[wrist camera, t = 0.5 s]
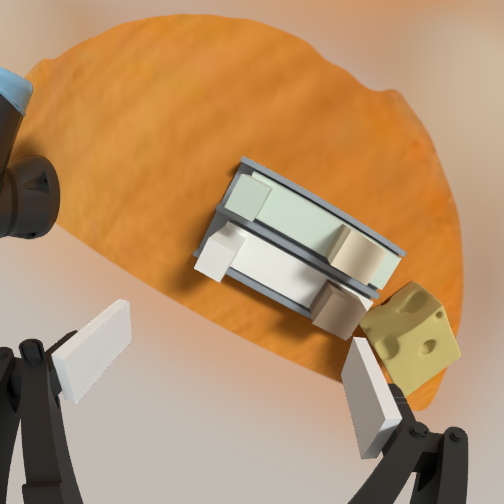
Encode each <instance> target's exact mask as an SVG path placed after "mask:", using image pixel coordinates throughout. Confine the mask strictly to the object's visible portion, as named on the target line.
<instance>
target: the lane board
mask: <svg viewBox="0 0 504 504" xmlns="http://www.w3.org/2000/svg"><path fill="white" fill-rule="evenodd" d="M240 161H241V162H242V164H241V165H240V167H239V169H238V171H237V173H236V175H235V177H234V179H233V181H232V182H231V184H230V186H229V188H228V190H227V192H226V194H225V196H224V198H223V200H222V202H221V203H220V204H217V206H216V208H215V210H217V212H216V214H215V216H214V218H213V220H212V222H211V224H210V226H209V228H208V230H207V232H206V234H205V236H204V238H203V240H202V242H201V244H200V246H199V248H197V249H196V250H195V251H194V253H193V256H195V257H196V258H198V259H199V257H200V255H201V253H202V251H203V248H204V246H205V244H206V242H207V240H208V238H209V237H211V236H212V235H213V234H215V233H216V232H217V231H219V230H220V229H222V228H223V227H224V226H225V225H226V223H227V221H229V220H230V221H232V222H234V223H235V224H237V225H239V226H241V227H243V228H245V229H246V230H248V231H250V232H252V233H254V234H256V235H257V236H259V237H261V238H263V239H265V240H267V241H268V242H270V243H272V244H274V245H276V246H277V247H279V248H281V249H283V250H285V251H286V252H288V253H290V254H292V255H294V256H295V257H297V258H299V259H301V260H303V261H304V262H306V263H308V264H310V265H312V266H313V267H315V268H317V269H319V270H320V271H322V272H324V273H326V274H328V275H329V276H331V277H333V278H335V279H336V280H338V281H340V282H342V283H343V284H345V285H347V286H349V287H350V288H352V289H354V290H356V291H357V292H359V293H361V294H363V295H364V296H366V297H368V298H370V299H371V298H372V297H373V298H375V299H378V298H379V296H380V295H379V293H378V292H377V289H378V288H377V287H376V286H374V285H372V284H371V283H368V285H367V286H366V285H364V284H363V283H361V282H359V281H358V280H356V279H354V278H352V277H351V276H349V275H347V274H346V273H344V272H342V271H340V270H339V269H337V268H335V267H333V266H332V265H330V263H329V261H328V259H327V258H326V257H324V256H323V255H321V254H319V253H317V252H316V251H314V250H312V249H310V248H309V247H307V246H305V245H303V244H302V243H300V242H298V241H296V240H294V239H293V238H291V237H289V236H287V235H285V234H284V233H282V232H280V231H278V230H276V229H275V228H273V227H271V226H269V225H267V224H266V223H264V222H262V221H260V220H258V219H256V218H255V219H254V220H253V221H252V222H251V221H249V220H247V219H245V218H244V217H242V216H240V215H238V214H236V213H234V212H232V211H231V210H229V209H227V208H225V205H226V203H227V201H228V199H229V197H230V195H231V193H232V191H233V189H234V187H235V186H236V184H237V182H238V180H239V178H240V176H241V174H246V175H250V176H252V174H253V172H254V171H256V172H258V173H259V174H261V175H263V176H265V177H267V178H269V179H271V180H273V181H274V182H276V183H278V184H280V185H282V186H284V187H285V188H287V189H289V190H291V191H293V192H294V193H296V194H298V195H300V196H302V197H303V198H305V199H307V200H309V201H310V202H312V203H314V204H316V205H317V206H319V207H321V208H322V209H324V210H326V211H327V212H329V213H331V214H333V215H334V216H336V217H338V218H339V219H341V220H342V221H344V222H346V223H347V224H349V225H351V226H352V227H354V228H356V229H357V230H359V231H360V232H362V233H364V234H365V235H367V236H368V237H370V238H371V239H373V240H375V241H376V242H378V243H379V244H381V245H382V246H384V247H385V248H387V249H388V250H390V251H391V252H393V253H394V254H396V255H397V256H398V255H399V254H400V255H401V256H403V257H405V255H406V252H405V251H404V250H402V249H401V248H399V247H398V246H396V245H395V244H393V243H392V242H390V241H389V240H387V239H386V238H384V237H383V236H381V235H380V234H378V233H377V232H375V231H374V230H372V229H370V228H369V227H367V226H366V225H364V224H363V223H361V222H359V221H358V220H356V219H355V218H353V217H351V216H350V215H348V214H346V213H345V212H343V211H342V210H340V209H338V208H337V207H335V206H333V205H332V204H330V203H328V202H327V201H325V200H323V199H321V198H320V197H318V196H316V195H315V194H313V193H311V192H309V191H308V190H306V189H304V188H302V187H301V186H299V185H297V184H295V183H293V182H292V181H290V180H288V179H286V178H284V177H282V176H281V175H279V174H277V173H275V172H273V171H271V170H269V169H268V168H266V167H264V166H262V165H260V164H258V163H256V162H254V161H252V160H250V159H248V158H246V157H244V156H243V157H242V158H241V160H240ZM226 274H227V275H229V276H231V277H232V278H234V279H236V280H238V281H240V282H242V283H243V284H245V285H247V286H249V287H251V288H253V289H255V290H256V291H258V292H260V293H262V294H264V295H266V296H268V297H270V298H271V299H273V300H275V301H277V302H279V303H281V304H283V305H285V306H287V307H288V308H290V309H292V310H294V311H296V312H298V313H300V314H302V315H304V316H306V317H308V318H310V319H311V313H310V309H309V308H307V307H305V306H303V305H301V304H299V303H297V302H295V301H293V300H292V299H290V298H288V297H286V296H284V295H282V294H280V293H278V292H277V291H275V290H273V289H271V288H269V287H267V286H265V285H264V284H262V283H260V282H258V281H256V280H254V279H253V278H251V277H249V276H247V275H245V274H243V273H242V272H240V271H238V270H236V269H234V268H232V267H231V266H230V268H229V269H228V271H227V272H226ZM311 320H312V319H311ZM351 336H352V334H351V335H350V337H351ZM350 337H349V339H350Z"/></svg>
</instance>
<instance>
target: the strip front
mask: <svg viewBox="0 0 504 504" xmlns="http://www.w3.org/2000/svg"><path fill="white" fill-rule="evenodd" d="M225 208H227V209H229V210H231V211H232V212H234V213H236V214H238V215H240V216H242V217H244V218H245V219H247V220H249V221H251V222H252V221H253V220H254V219H255V218H256V219H258V220H260V221H262V222H264V223H266V224H267V225H269V226H271V227H273V228H275V229H276V230H278V231H280V232H282V233H284V234H285V235H287V236H289V237H291V238H293V239H294V240H296V241H298V242H300V243H302V244H303V245H305V246H307V247H309V248H310V249H312V250H314V251H316V252H317V253H319V254H321V255H323V256H324V257H326V255H325V253H326V251H327V249H328V248H329V246H330V244H331V243H332V241H333V239H334V238H335V236H336V234H337V232H338V231H339V229H340V227H341V226H342V224H344V225H346V226H348V227H349V228H351V229H352V230H354V231H356V232H357V233H359V234H361V235H362V236H364V237H365V238H367V239H368V240H370V241H372V242H373V243H375V244H376V245H378V246H379V247H380V248H382V249H383V250H385V251H386V252H387V254H386V256H385V257H384V259H383V261H382V262H381V264H380V266H379V267H378V269H377V271H376V272H375V274H374V275H373V277H372V278H371V280H370V282H369V283H371V284H372V285H374V286H376V287H377V288H379V289H381V290H382V289H383V287H384V286H385V284H386V283H387V281H388V280H389V278H390V276H391V275H392V273H393V272H394V270H395V268H396V267H397V265H398V263H399V262H400V260H401V259H402V258H400V257H399V256H397V255H396V254H394V253H393V252H391V251H390V250H388V249H387V248H385V247H384V246H382V245H381V244H379V243H378V242H376V241H375V240H373V239H371V238H370V237H368V236H367V235H365V234H364V233H362V232H360V231H359V230H357V229H356V228H354V227H352V226H351V225H349V224H347V223H346V222H344V221H342V220H341V219H339V218H338V217H336V216H334V215H333V214H331V213H329V212H327V211H326V210H324V209H322V208H321V207H319V206H317V205H316V204H314V203H312V202H310V201H309V200H307V199H305V198H303V197H302V196H300V195H298V194H296V193H294V192H293V191H291V190H289V189H287V188H285V187H284V186H282V185H280V184H278V183H276V182H274V181H273V180H271V179H269V178H267V177H265V176H263V175H261V174H259V173H258V172H256V171H254V172H253V174H252V176H250V175H246V174H241V176H240V178H239V180H238V182H237V184H236V186H235V187H234V189H233V191H232V193H231V195H230V197H229V199H228V201H227V203H226V205H225ZM326 258H327V257H326Z"/></svg>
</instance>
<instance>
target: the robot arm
mask: <svg viewBox="0 0 504 504" xmlns="http://www.w3.org/2000/svg"><path fill="white" fill-rule="evenodd" d="M32 93H33V86H32V84H31V82H30V81H28V80H27V79H25V78H23V77H21V76H18V75H16V74H14V73H12V72H10V71H8V70H6V69H4V68H2V67H0V238H2V237H6V236H12V237H18V238H24V239H34V238H38V237H41V236H44V235H45V234H47V233H48V232H49V231H50V229H51V228H52V226H53V225H54V223H55V220H56V218H57V214H58V210H59V203H60V188H59V181H58V177H57V174H56V171H55V169H54V167H53V165H52V164H51V162H50V161H49V160H48V159H46V158H45V157H43V156H40V155H29V156H25V157H22V158H20V159H18V160H16V161H14V162H12V163H10V164H8V161H9V158H10V154H11V151H12V148H13V145H14V142H15V139H16V136H17V133H18V131H19V128H20V125H21V123H22V120H23V118H24V117H25V115H26V109H27V106H28V104H29V101H30V98H31V96H32ZM131 340H132V337H131V324H130V307H129V301H125V300H121V299H118V300H116V301H115V302H114V303H113V304H111V305H110V306H109V307H108V308H107V309H105V310H104V311H103V312H102V313H100V314H99V315H98V316H97V317H96V318H94V319H93V320H92V321H91V322H89V323H88V324H87V325H86V326H84V327H83V328H82V329H81V330H80V331H76V330H75V331H72V332H70V333H68V334H66V335H65V336H64V337H63V338H62V339H60V340H59V341H58V342H57V343H55V344H54V345H53V346H52V347H50V348H49V349H48V350H47V351H46V352H44V348H43V344H42V342H41V341H40V340H37V339H27V340H25V341H23V342H22V343H20V345H19V350H20V354H21V357H22V358H17V357H14V354H13V351H12V349H10V348H8V347H0V504H6V495H7V485H8V478H9V471H10V464H11V458H12V454H13V449H14V444H15V439H16V435H17V431H18V426H19V422H20V419H21V434H22V448H23V459H24V467H25V475H26V484H23V485H22V493H23V500H24V504H83V501H82V498H81V495H80V492H79V489H78V485H77V482H76V478H75V475H74V471H73V467H72V463H71V459H70V456H69V451H68V446H67V441H66V436H65V431H64V425H63V420H62V413H61V406H60V399H59V397H58V394H59V393H60V392H61V391H62V392H63V395H64V398H65V399H66V400H68V401H70V402H72V403H74V404H76V405H77V404H78V403H79V402H80V400H81V399H82V398H83V397H84V396H85V394H86V393H87V392H88V391H89V390H90V388H91V387H92V386H93V385H94V384H95V382H96V381H97V380H98V379H99V378H100V376H101V375H102V374H103V373H104V371H106V369H107V368H108V367H109V366H110V364H111V363H112V362H113V361H114V360H115V359H116V358H117V356H118V355H119V354H120V353H121V352H122V351H123V350H124V349H125V347H126V346H127V345H128V344H129V343H130V341H131ZM341 377H342V381H343V385H344V389H345V393H346V397H347V401H348V405H349V409H350V412H351V417H352V420H353V425H354V429H355V434H356V438H357V443H358V446H359V451H360V456H361V459H371V458H377V457H378V455H379V454H380V452H381V451H382V453H383V456H384V457H383V459H382V460H381V461H380V463H379V464H378V465H377V467H376V468H375V469H374V471H373V472H372V474H371V475H370V476H369V478H368V479H367V480H366V482H365V483H364V484H363V486H362V487H361V488H360V489H359V491H358V492H357V493H356V494H355V495H354V497H353V498H352V499H351V500H350V501H349V502H348V504H393V503H394V501H395V500H396V498H397V496H398V495H399V493H400V492H401V490H402V488H403V487H404V485H405V483H406V481H407V480H408V478H409V476H410V474H411V473H412V472H417V474H416V479H415V483H414V488H413V492H412V497H411V500H410V504H466V496H467V482H468V481H467V480H468V437H467V434H466V433H465V431H464V430H462V429H461V428H458V427H449V428H448V429H447V430H446V431H445V432H444V434H439V433H431V432H430V431H429V429H428V428H427V426H426V425H424V424H423V423H421V422H417V421H416V420H415V417H414V415H413V413H412V411H411V409H410V407H409V405H408V403H407V400H406V398H404V397H405V396H404V394H403V392H402V390H401V389H400V388H399V387H398V386H397V385H396V384H387V382H386V380H385V378H384V376H383V374H382V371H381V369H380V367H379V365H378V363H377V361H376V359H375V356H374V354H373V352H372V350H371V348H370V346H369V344H368V342H367V340H366V338H360V337H353V340H352V343H351V346H350V349H349V352H348V355H347V358H346V361H345V364H344V367H343V370H342V373H341Z"/></svg>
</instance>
